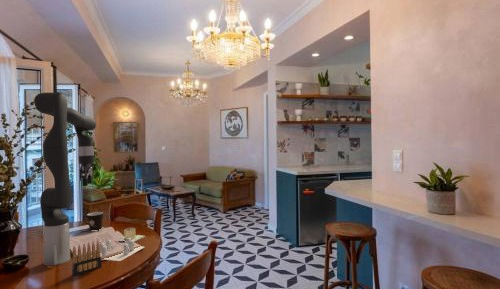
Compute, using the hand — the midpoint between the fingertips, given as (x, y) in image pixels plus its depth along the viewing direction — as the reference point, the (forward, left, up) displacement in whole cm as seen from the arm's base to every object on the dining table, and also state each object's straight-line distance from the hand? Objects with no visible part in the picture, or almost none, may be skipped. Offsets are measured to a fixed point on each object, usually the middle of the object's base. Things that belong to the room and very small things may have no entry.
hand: (87, 184), depth 167 cm
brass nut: (+5, -22, -29) cm, 37 cm away
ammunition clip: (-33, -31, -30) cm, 55 cm away
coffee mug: (+16, +12, -30) cm, 36 cm away
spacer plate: (-13, -29, -30) cm, 44 cm away
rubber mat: (+5, -22, -30) cm, 38 cm away
